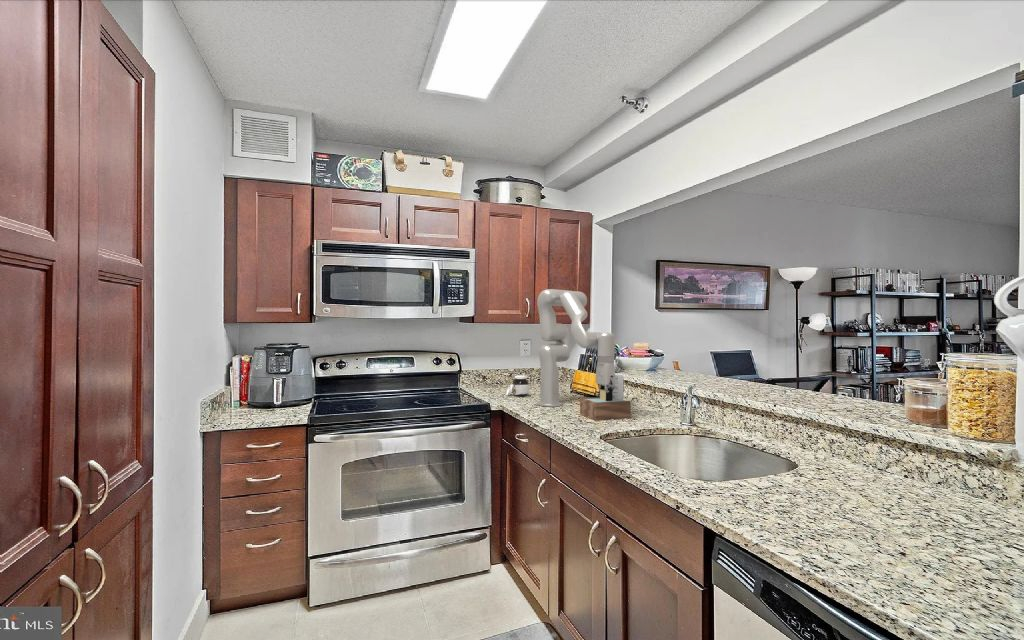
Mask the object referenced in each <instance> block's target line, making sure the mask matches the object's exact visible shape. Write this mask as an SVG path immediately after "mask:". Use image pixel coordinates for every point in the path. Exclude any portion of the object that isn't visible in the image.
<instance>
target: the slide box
mask: <svg viewBox="0 0 1024 640" xmlns="http://www.w3.org/2000/svg"><path fill="white" fill-rule="evenodd" d="M594 398H599V396H596V397H580V398H579V415H580V416H582V417H585V418H587V419H589V420H593V421H595V422H598V421H611V419H614V420H624V419H625V418H628V419H631V413H632V411H631V410H632V409H631V406H632V405H631V404H632V401H631V400H625V401H613V402H594V401H590V400H587V399H594ZM612 398H615V397H614V396H612Z"/></svg>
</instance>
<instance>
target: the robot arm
mask: <svg viewBox="0 0 1024 640" xmlns="http://www.w3.org/2000/svg"><path fill="white" fill-rule="evenodd" d="M536 304H537V308H538V309H537V311H538V314H539V327H540V328H539V330H540V332H539V333H540V338H541V339H542V340H543V341H545V342H555V343H546V344H543V345H542V346H540V348H539V350H538V356H539V364H540V365H539V366H540V393H539V394H540V396H539V399H540V400H539V401H537V405H538V406H540V407H550V408H551V407H552V408H553V407H562V404H563V403H562V402H561V401H560V399H559V398H560V397H559V396H560V369H559V366H558V364H557V363H561V362H566V361H568V360H569V359H570V356H571V341H570V332H571V335H572V337H573V339H574V340H575V342H576V344H577V345H578V346H579V347H580V348H581V349H597V363H596V367H595V368H596V369H595V384H597V386H598V397H599V399H600V390H604V389H605V386H606V390H607V392H606V401H612V396H613V389H614V388H615V386H616V384H615V373H616V369H615V368H616V367H615V349H616V348H615V346H616V345H615V339H616V337H615V334H614V333H610V332H599V331H586V330H585V328H584V326H583V324H582V322H584V321H585V320H586V319H587V317H588V312H587V310H586V309H585V307H586V306H587V304H588V297H587V295H586V293H584V292H582V291H579V290H578V291H576V290H575V291H574V290H566V289H556V288H555V289H554V288H547V289H543V290H542V291H541V292H540V293H539V294H538V297H537V303H536ZM555 306H556V307H563V308H564V310H565V312H566V314H567V315H568V317H569V319H570V320H571V325H570V332H569V328H568V327H567V326H566V325H565V324H564V323H559V322H558V323H557V315H556V313H555V310H554V308H553V307H555ZM608 384H609V385H608Z"/></svg>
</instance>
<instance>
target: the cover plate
mask: <svg viewBox="0 0 1024 640" xmlns="http://www.w3.org/2000/svg"><path fill="white" fill-rule="evenodd" d="M606 392H607V390H606V389H604V390H600V399H599V398H594V399H587V400H590V401H594V402H613V401H626V400H625V399H623V400H621V399H617V398H612V401H606Z"/></svg>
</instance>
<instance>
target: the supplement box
mask: <svg viewBox="0 0 1024 640" xmlns="http://www.w3.org/2000/svg"><path fill="white" fill-rule="evenodd" d="M615 384H616V386H615V388H614V389H613V396H614V397H615V398H617V399H621V400H624V393H625V392H624V384H625V383H624V373H619V372H618V373H616V372H615ZM608 385H609V384H608ZM605 389H606V386H605Z"/></svg>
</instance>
